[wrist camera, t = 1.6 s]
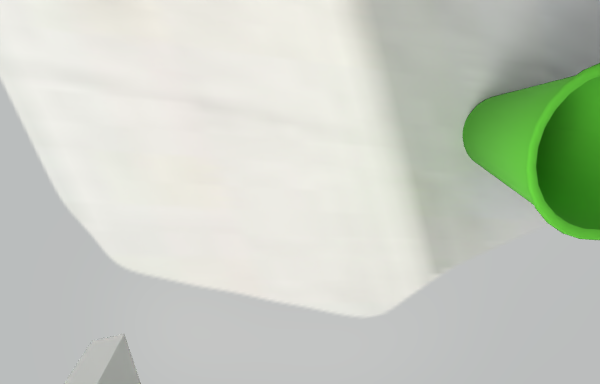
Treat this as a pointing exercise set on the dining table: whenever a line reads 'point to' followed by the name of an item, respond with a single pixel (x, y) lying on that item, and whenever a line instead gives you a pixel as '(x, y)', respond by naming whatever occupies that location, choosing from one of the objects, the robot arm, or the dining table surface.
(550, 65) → the dining table surface
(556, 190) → the cup
